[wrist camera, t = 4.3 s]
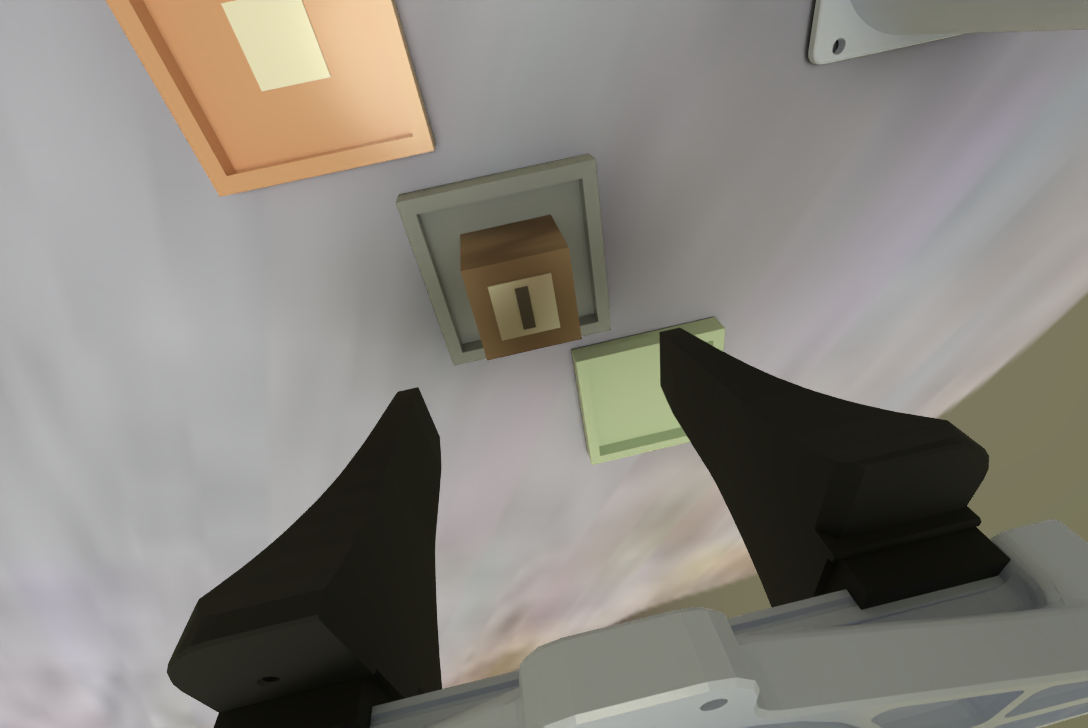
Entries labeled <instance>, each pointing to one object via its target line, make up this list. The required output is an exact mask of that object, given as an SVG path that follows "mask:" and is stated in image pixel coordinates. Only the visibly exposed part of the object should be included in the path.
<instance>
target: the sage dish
mask: <svg viewBox="0 0 1088 728" xmlns="http://www.w3.org/2000/svg"><path fill="white" fill-rule="evenodd" d="M679 327H680V328H682V329H684V330H685V331H687V332H689V333H691V334H693V335H694V336H696V337H698V338H700V339H701V340H703V341H705V342H707V343H708V344H710V345H712V346H714V347H716V348H717V349H719V350H721V351H723V348H724V336H725V327H724V326H723V325H722V324H721V323H720V322H719V321H718V320H717V319H716V318H715V317H713V318H708V319H704V320H699V321H695V322H691V323H686V324H682V325H678V326H673V327H669V328H665V329H660V330H656V331H651V332H647V333H643V334H638V335H634V336H630V337H625V338H621V339H616V340H612V341H608V342H603V343H599V344H595V345H590V346H586V347H581V348H577V349H573V350H571V351H572V358H573V364H574V370H575V376H576V383H577V389H578V395H579V401H580V408H581V414H582V420H583V426H584V433H585V439H586V445H587V451H588V454H589V457H590V461H591V464H592V465H593V464H598V463H602V462H606V461H610V460H615V459H619V458H623V457H627V456H632V455H636V454H640V453H644V452H648V451H653V450H657V449H661V448H665V447H670V446H674V445H678V444H682V443H687V442H690V440H689V439H688V437H687V435H686V434H685V432H684V431H683V429H682V427H681V426H680V424H679V423H678V421H677V419H676V418H675V416H674V415H673V413H672V411H671V408H670V406H669V404H668V402H667V400H666V398H665V395H664V393H663V391H662V388H661V386H660V338H659V332H662V331H666V330H671V329H675V328H679Z"/></svg>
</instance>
